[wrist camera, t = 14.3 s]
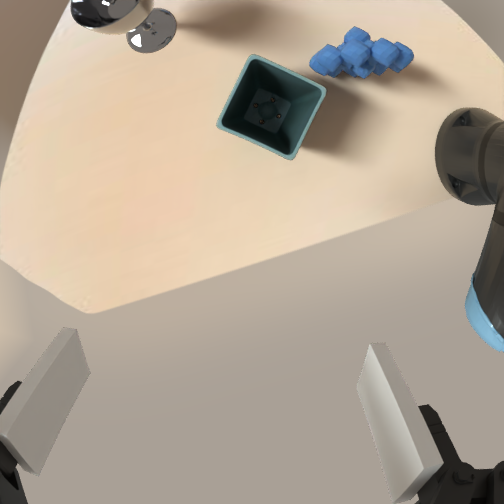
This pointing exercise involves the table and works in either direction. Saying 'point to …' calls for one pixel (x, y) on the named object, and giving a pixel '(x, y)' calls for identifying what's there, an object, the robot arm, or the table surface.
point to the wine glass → (127, 21)
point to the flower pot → (271, 106)
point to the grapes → (361, 56)
